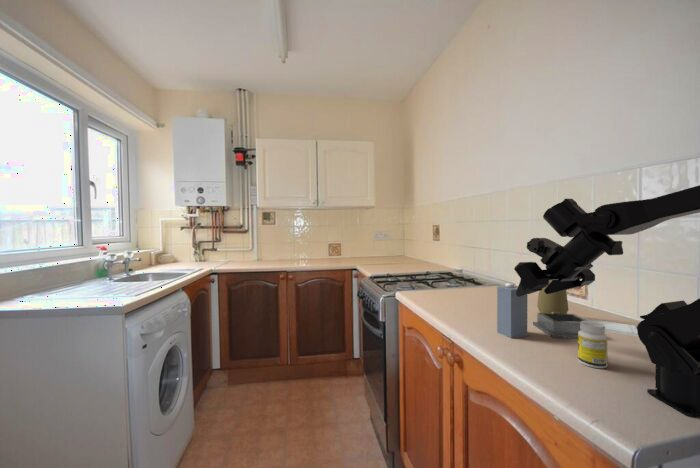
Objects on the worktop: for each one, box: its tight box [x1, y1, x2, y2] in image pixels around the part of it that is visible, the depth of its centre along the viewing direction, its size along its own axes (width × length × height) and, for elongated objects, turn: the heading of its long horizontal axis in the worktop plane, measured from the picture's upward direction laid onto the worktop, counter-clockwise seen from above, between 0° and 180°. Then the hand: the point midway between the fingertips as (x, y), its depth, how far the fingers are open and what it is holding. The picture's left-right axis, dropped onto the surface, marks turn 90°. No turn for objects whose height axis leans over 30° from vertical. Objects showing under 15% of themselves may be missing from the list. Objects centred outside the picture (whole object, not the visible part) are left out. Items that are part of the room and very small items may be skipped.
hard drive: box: [583, 317, 639, 338], centre depth 83 cm, size 2×8×12 cm
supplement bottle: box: [577, 321, 608, 369], centre depth 61 cm, size 5×5×8 cm
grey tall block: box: [496, 282, 528, 339], centre depth 78 cm, size 4×6×13 cm
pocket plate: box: [532, 312, 588, 340], centre depth 80 cm, size 10×11×4 cm
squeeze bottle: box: [536, 280, 569, 314], centre depth 91 cm, size 8×8×18 cm
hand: (531, 293), depth 72 cm, fingers open, 9 cm apart
